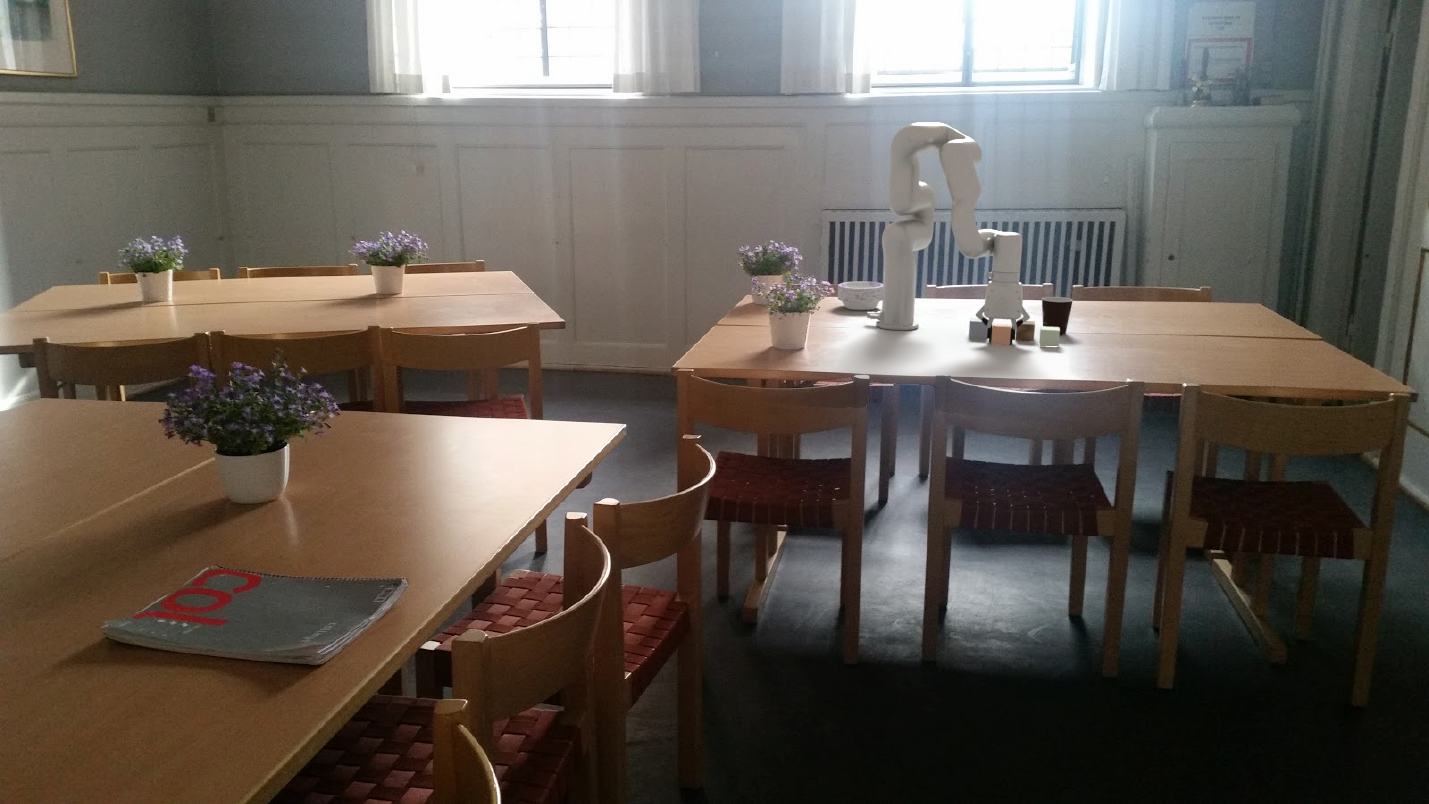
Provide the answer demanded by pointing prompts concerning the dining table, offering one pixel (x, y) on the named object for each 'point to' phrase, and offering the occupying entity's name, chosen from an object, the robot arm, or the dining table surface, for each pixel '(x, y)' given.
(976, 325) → the slate cube
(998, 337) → the terracotta cube
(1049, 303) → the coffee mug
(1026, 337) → the walnut cube
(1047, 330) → the sage cube
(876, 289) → the white floral bowl
